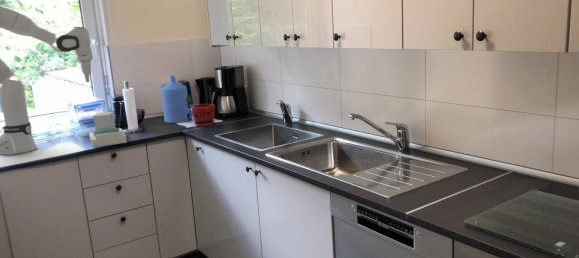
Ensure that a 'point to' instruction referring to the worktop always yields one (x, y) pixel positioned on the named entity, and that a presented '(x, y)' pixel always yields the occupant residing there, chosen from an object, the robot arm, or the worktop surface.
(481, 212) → the worktop surface
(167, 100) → the water jug
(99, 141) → the white tray
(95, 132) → the pusher
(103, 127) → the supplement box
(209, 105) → the plant pot
